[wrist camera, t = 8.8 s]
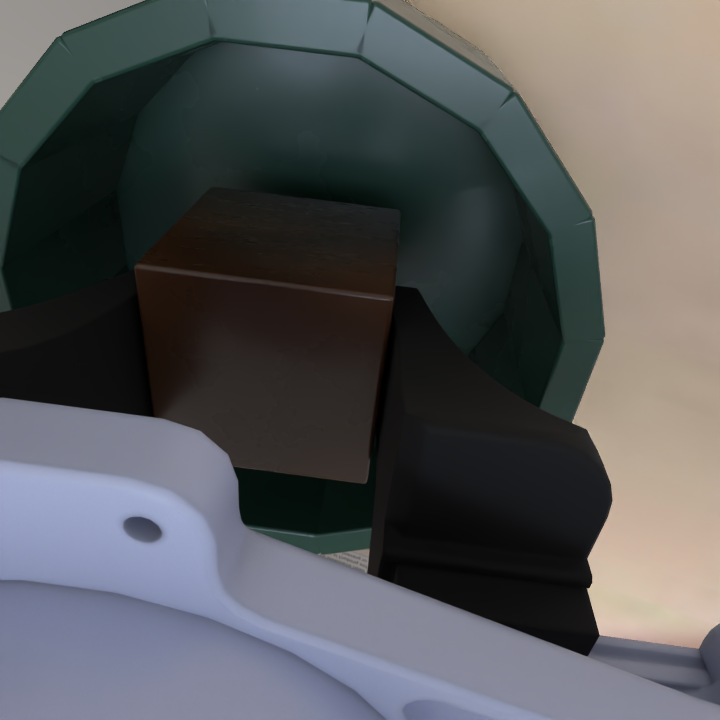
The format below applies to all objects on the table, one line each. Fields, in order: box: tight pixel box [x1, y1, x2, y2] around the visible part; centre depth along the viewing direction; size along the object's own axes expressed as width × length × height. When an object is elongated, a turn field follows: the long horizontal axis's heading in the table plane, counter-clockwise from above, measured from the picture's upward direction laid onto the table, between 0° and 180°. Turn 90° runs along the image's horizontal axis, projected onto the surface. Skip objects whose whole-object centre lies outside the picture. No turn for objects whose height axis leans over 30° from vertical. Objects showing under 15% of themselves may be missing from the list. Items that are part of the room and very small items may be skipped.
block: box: [134, 187, 401, 484], centre depth 13 cm, size 4×4×4 cm
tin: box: [0, 0, 605, 555], centre depth 14 cm, size 13×13×6 cm
